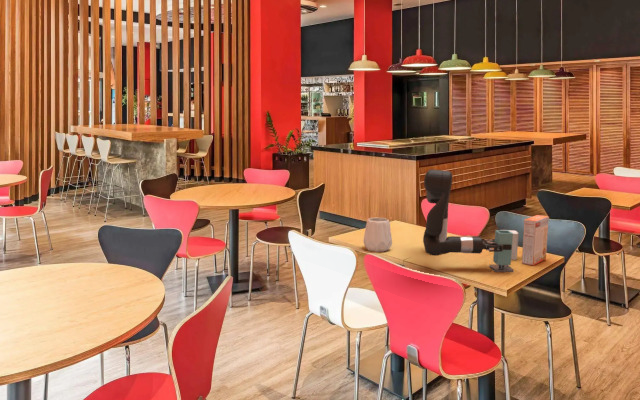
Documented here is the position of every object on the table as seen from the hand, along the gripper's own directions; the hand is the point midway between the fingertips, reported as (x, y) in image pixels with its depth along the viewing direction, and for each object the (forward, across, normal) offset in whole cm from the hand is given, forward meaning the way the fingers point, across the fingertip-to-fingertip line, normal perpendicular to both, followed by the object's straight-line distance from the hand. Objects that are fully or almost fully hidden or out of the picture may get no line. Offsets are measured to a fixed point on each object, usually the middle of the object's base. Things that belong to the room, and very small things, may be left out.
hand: (508, 245), depth 231 cm
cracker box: (+16, +13, +11) cm, 24 cm away
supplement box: (+7, +19, +11) cm, 23 cm away
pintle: (-2, 0, +11) cm, 11 cm away
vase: (-54, +32, +11) cm, 64 cm away
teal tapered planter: (-2, 0, +8) cm, 8 cm away
